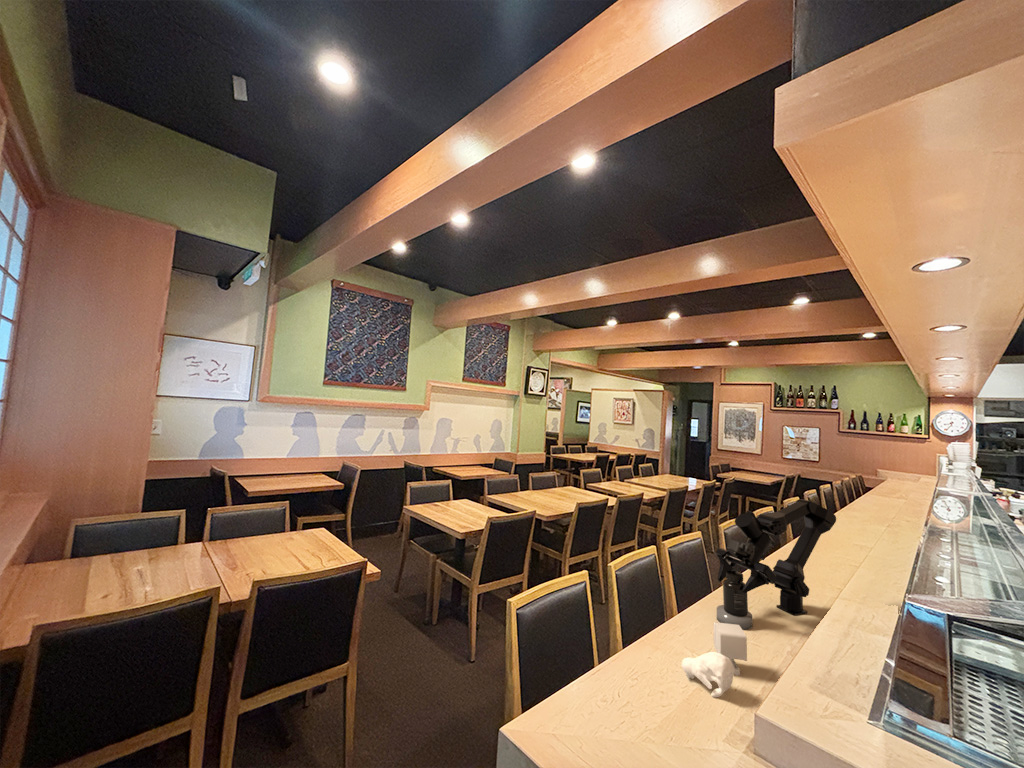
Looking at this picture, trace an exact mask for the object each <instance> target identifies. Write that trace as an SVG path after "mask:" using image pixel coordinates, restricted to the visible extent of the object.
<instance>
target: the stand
mask: <svg viewBox="0 0 1024 768" xmlns="http://www.w3.org/2000/svg"><path fill="white" fill-rule="evenodd" d="M716 620H717V622H718V623H727V624H736V625H740V627H741V628H742V630H743V631H748V630H751V629H752V628H753V613H751V612H750V611H749V610H748V614H747V615H746V616H744V617H739V616H733V615H730V614H728V613H727V612H725V610H724V604H719V605H718V606H717V607H716Z"/></svg>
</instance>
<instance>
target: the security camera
mask: <svg viewBox="0 0 1024 768" xmlns="http://www.w3.org/2000/svg"><path fill="white" fill-rule="evenodd" d="M747 641H748V638H747V635H746V633H745V630H742V628H741V627H740V625H736V624H727V623H720V622H719V621H717V622H716V621H714V622H713V646H714V649H715V652H717V653H720V654H722V655H724V656H726V657H727V658H729V659H730V660H731V662H732V664H733V667H734V670H735V671H734V674H733V676H737V677H738V676H741V669H740V668H739V667H738V664H737V663H736V661H735V660H740V661H745V662H747V661H748V644H747Z"/></svg>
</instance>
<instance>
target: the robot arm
mask: <svg viewBox="0 0 1024 768" xmlns="http://www.w3.org/2000/svg"><path fill="white" fill-rule="evenodd" d="M802 518H803V521H804V525H805V526H804V528H803V529H802V531H801V533H800V535H799V536H798V539H797V540H796V542H795V544H794V546H793V547H792V550H791V551H790V553H789V555H788V557H787V558H786V559H785V560H783V559H780V558H779V559H778V560H777V561H776V564H775V565H774V566H773V567H772V568H771V567H770V566H769V565H768V564H765V563H762V562H760V561H761V560H762V561H764V560H765V559H766V557H765V556H764V555H765V553H766V552H767V550H768V548H769V547H770V546H771V547H773V548H775V547H776V543H775V540H774V537H771V536H770V535H773V536H781V535H782V534H783V533H786V531H787V530H788V526H789V525H790V524H792V523H794V522H796V521H797V520H799V519H802ZM836 522H837V516H836V514H835V513H834V512H833V510H831V509H828V508H825V507H823V506H821V505H819V504H817V503H816V502H814V501H812V500H809V499H808V500H807V499H802V498H801V499H800V498H799V499H797V500H796V501H795V502H793V503H791V504H789V505H788V506H786V507H784V508H782V509H779V510H778V511H774V512H765V513H760V514H759V515H758V516H757V517H756V515H755V512H753V511H750V510H746V512H745V513H740V514H739V515H736V517H735V519H734V524H735V525H736V527H737V528H738V530H740V532H741V533H742V534H743V536H745V538H747V541H746V542H744V541H742V542H739V541H738V540H734V539H732V538H730V539H729V540H728V543H727V546H726V549H724V548H723V547H720V548H719V547H717V549H716V551H715V553H714V554H715V556H716V558H717V559H718V561H719V569H718V570H719V571H718V575H717V582H720V583H721V582H722V581H724V580H725V578H726V572H727V571H734V569H733V568H734V567H735V566H736V565H738V566H739V567H742V568H745V569H747V570H750V576H749V577H748V579H747V581H746V582H745V585H744V587H743V590H742V591H743V593H746V592H747V593H749V592H751V591H752V590H755V589H757V588H759V587H762V586H765V585H770V584H772V585H774V588H776V589H780V592H779V593H780V595H779V604H776V606H775V607H776V608H777V609H780V610H782V611H784V612H786V613H788V614H791V615H793V616H797V615H803V614H808V610H805V609H804V600H803V599H804V598H807V596H809V595H810V594H809V593H810V588H809V586H808V585H807V584H806V583H805V582H804V581H805V579H806V576H805V573H804V567H805V566H806V563H807V562H808V560H809V558H810V557H811V554H812V553H813V551H814V550H815V549H814V548H815V547H816V545H817V543H818V541H819V540H820V537H821V535H822V534H825V533H826V532H829V531H830V530H831V529H832V528H833V526H834V525H835V524H836ZM731 551H732V552H733V554H732V552H731ZM735 556H736V557H735Z"/></svg>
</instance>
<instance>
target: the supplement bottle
mask: <svg viewBox="0 0 1024 768" xmlns="http://www.w3.org/2000/svg"><path fill="white" fill-rule="evenodd" d="M725 578H726V579H723V582H722V594H723V595H722V597H723V598H722V599H723V602H722V603H723V605H724V610H725V612H727V613H728V614H730V615H733V616H739V617H744V616H746V615H747V614H748V611H749V607H748V606H749V605H748V600H749V599H748V592H746V593H743V591H742V590H743V587H744V585H745V584H746V582H744V575H743V573H742V572H740V571H736V570H732V571H727V572H726V577H725Z"/></svg>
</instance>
